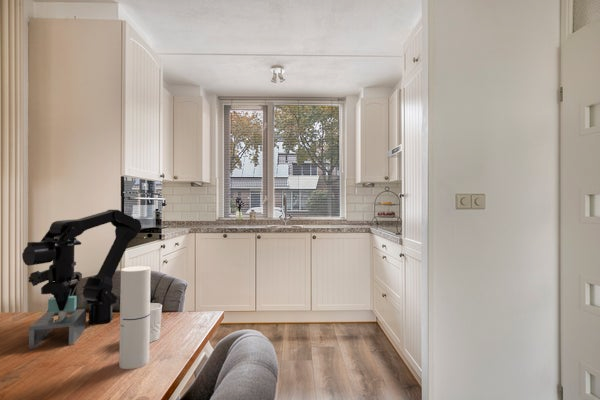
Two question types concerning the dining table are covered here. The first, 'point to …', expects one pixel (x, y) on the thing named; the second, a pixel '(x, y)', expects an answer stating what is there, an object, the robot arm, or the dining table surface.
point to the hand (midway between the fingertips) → (62, 309)
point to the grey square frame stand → (57, 326)
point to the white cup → (155, 321)
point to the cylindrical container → (134, 317)
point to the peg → (69, 307)
